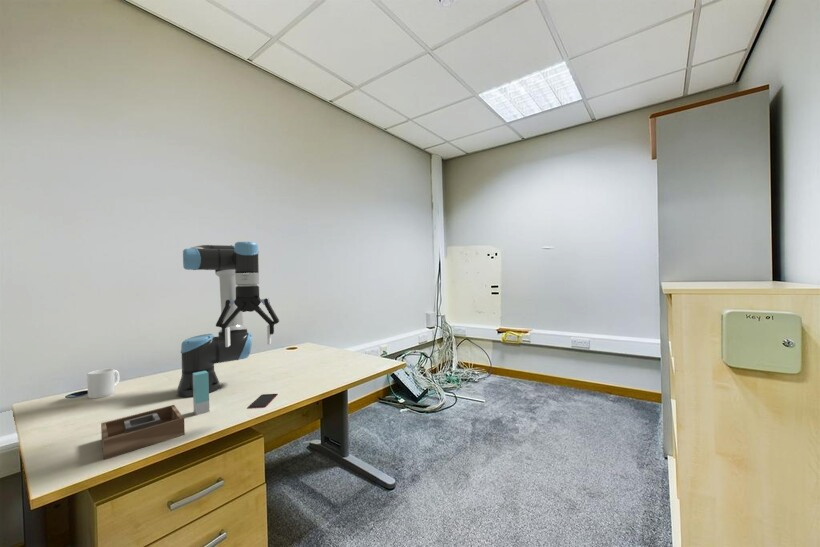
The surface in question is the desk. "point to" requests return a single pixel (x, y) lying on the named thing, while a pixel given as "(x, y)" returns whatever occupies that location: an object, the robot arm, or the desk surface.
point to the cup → (102, 382)
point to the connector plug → (201, 392)
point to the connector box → (141, 430)
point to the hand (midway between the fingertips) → (248, 345)
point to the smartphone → (262, 401)
